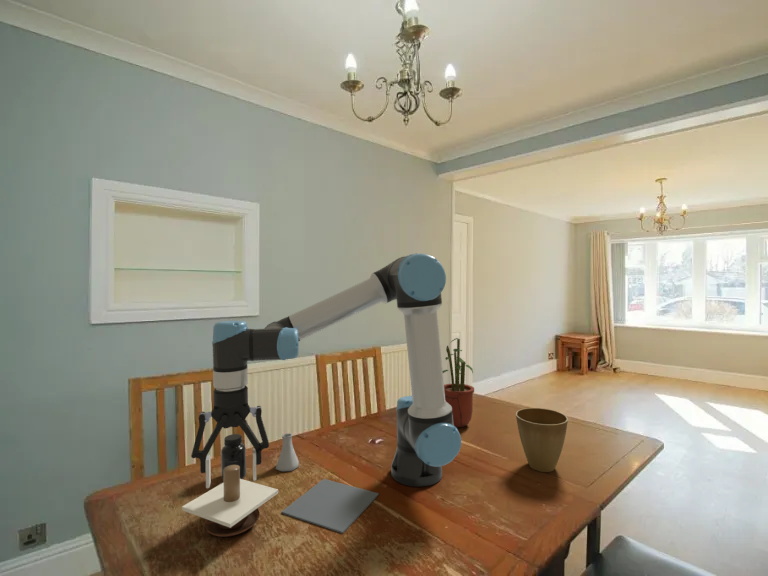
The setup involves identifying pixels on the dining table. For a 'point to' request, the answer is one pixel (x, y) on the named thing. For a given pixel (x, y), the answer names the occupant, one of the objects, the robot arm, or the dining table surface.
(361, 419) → the dining table surface
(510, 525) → the dining table surface
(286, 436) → the flask
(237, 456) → the supplement bottle
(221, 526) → the cup and saucer
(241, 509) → the board
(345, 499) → the mat
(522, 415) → the plant pot
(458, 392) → the potted plant
